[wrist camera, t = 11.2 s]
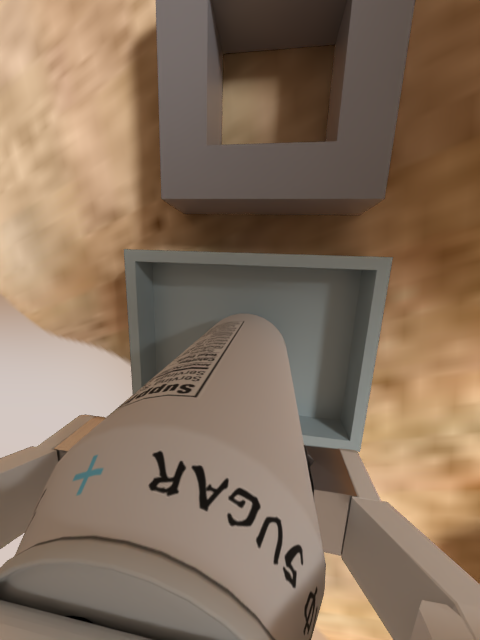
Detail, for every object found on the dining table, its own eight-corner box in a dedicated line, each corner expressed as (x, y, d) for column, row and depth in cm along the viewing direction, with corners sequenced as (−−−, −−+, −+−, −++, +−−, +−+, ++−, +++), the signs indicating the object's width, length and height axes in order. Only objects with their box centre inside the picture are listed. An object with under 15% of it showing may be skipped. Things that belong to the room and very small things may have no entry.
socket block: (391, -19, 14) (434, -126, 11) (359, 215, 17) (384, 198, 13) (182, 4, 16) (153, -80, 12) (184, 213, 19) (161, 198, 15)
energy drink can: (242, 401, 19) (126, 867, 4) (192, 344, 18) (-134, 623, 4) (303, 356, 17) (474, 821, 3) (250, 294, 17) (104, 419, 2)
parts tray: (370, 260, 18) (392, 257, 14) (345, 422, 21) (360, 451, 17) (149, 253, 20) (123, 249, 17) (154, 400, 23) (134, 422, 20)
